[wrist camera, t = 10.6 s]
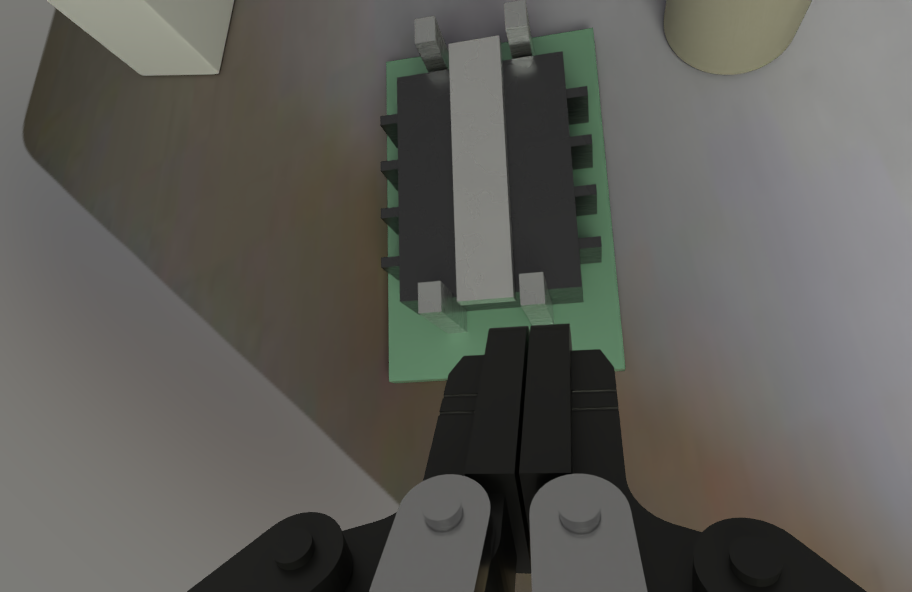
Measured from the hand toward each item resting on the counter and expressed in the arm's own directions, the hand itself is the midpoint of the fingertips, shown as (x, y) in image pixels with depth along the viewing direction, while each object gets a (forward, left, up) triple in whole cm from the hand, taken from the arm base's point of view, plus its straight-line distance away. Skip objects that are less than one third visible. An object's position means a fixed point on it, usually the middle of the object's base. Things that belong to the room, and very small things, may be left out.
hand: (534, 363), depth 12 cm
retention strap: (-10, -10, -20) cm, 25 cm away
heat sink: (-10, -10, -24) cm, 28 cm away
